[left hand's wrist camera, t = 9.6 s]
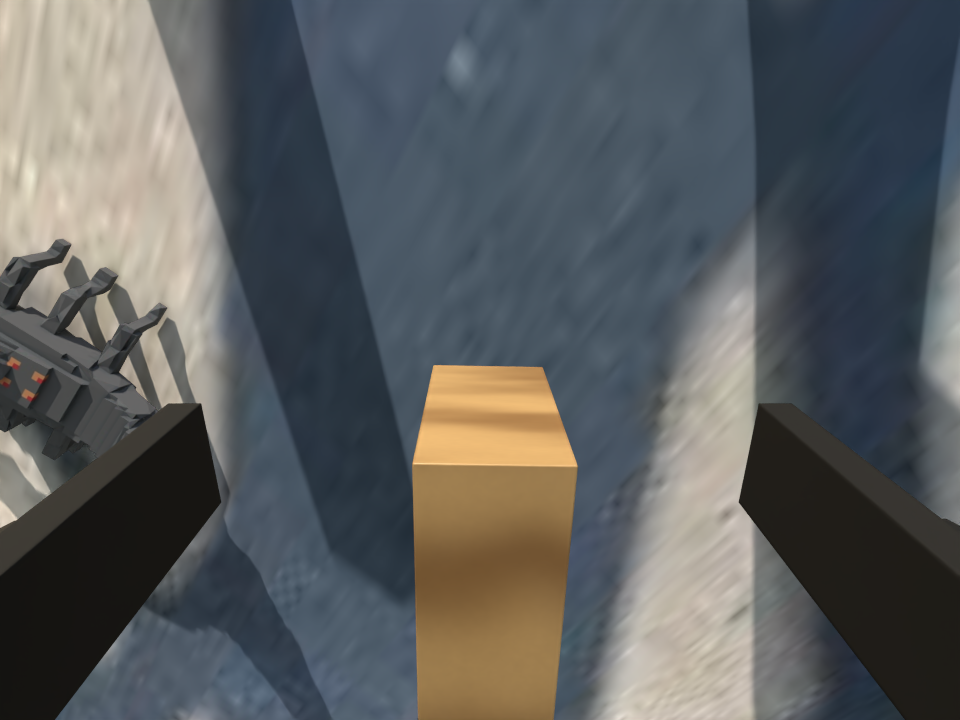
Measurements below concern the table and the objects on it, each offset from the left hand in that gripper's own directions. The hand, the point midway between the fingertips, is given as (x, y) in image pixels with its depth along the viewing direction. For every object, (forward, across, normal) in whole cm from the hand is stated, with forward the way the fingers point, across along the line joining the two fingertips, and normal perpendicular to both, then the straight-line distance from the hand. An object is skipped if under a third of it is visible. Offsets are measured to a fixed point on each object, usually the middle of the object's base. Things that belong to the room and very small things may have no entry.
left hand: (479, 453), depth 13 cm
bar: (+10, 0, -13) cm, 17 cm away
